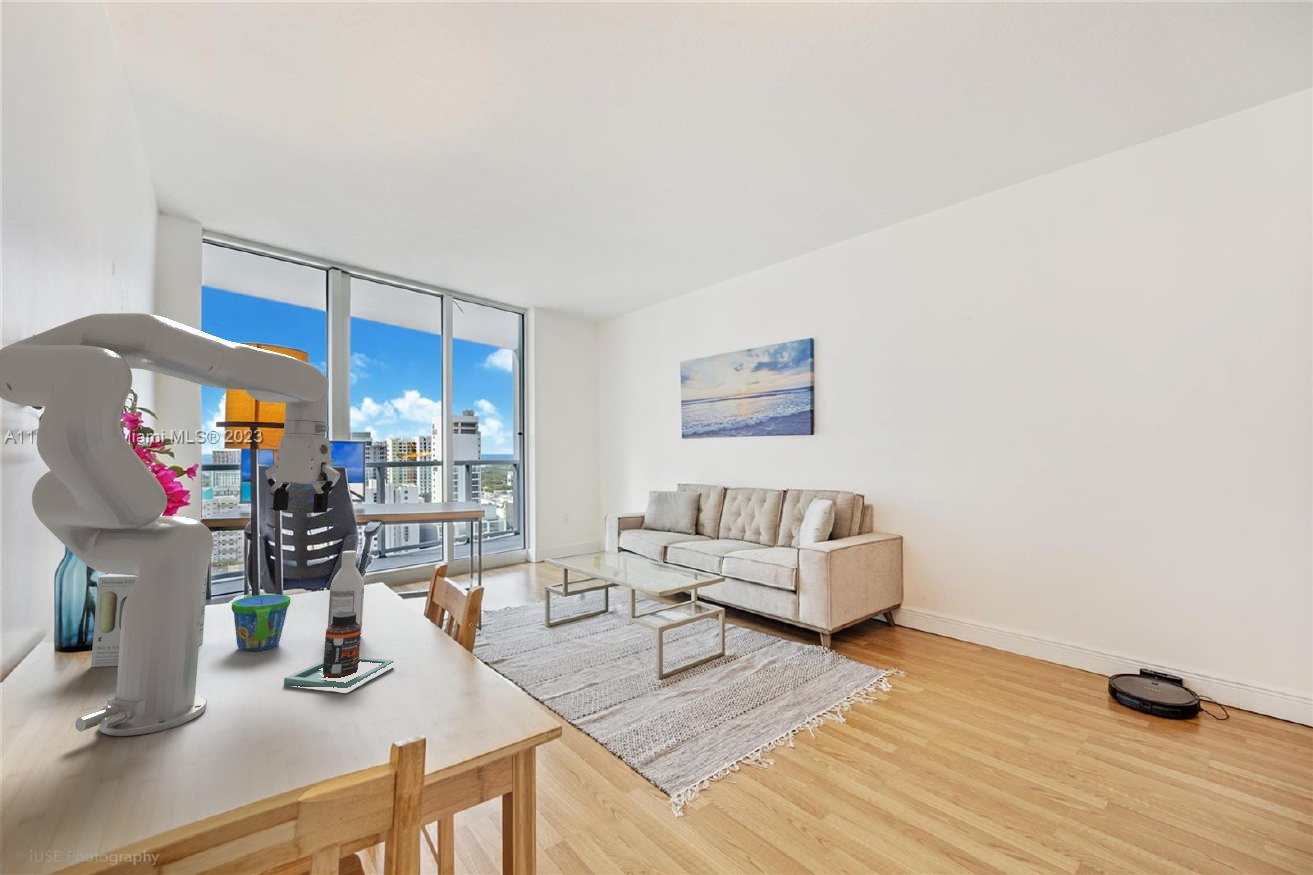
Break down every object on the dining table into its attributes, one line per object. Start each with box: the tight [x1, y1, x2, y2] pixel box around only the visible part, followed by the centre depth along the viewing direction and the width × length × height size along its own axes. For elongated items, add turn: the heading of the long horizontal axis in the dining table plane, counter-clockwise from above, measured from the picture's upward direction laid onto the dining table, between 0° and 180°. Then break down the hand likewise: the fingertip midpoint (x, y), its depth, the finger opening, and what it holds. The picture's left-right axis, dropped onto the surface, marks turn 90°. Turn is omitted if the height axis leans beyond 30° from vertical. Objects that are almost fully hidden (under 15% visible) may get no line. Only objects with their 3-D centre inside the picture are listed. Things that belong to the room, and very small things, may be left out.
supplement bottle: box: [323, 612, 362, 678], centre depth 107 cm, size 6×6×11 cm
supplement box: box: [90, 568, 209, 668], centre depth 116 cm, size 13×13×18 cm
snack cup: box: [231, 594, 291, 652], centre depth 123 cm, size 16×10×10 cm
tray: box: [283, 656, 395, 688], centre depth 107 cm, size 13×13×2 cm
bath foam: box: [327, 550, 365, 633], centre depth 130 cm, size 7×7×20 cm
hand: (300, 511), depth 118 cm, fingers open, 9 cm apart
